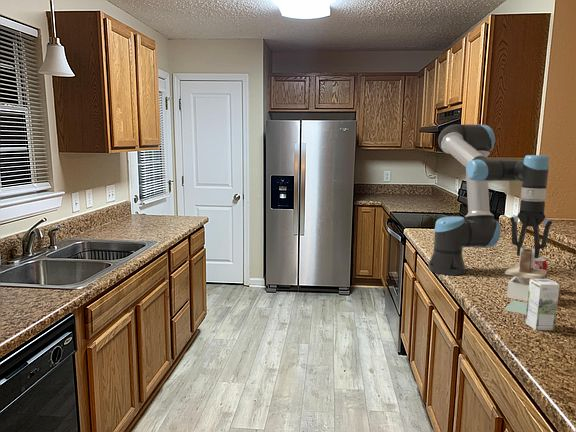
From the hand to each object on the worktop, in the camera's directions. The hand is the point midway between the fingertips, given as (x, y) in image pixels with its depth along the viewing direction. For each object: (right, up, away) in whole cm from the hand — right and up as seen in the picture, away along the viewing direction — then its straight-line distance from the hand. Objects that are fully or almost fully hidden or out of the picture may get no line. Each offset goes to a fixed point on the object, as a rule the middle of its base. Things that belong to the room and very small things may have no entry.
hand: (526, 265), depth 158 cm
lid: (0, -3, 0) cm, 3 cm away
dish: (0, -12, +2) cm, 12 cm away
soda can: (+9, -11, +11) cm, 18 cm away
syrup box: (-10, -16, -25) cm, 31 cm away
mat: (-5, -14, -11) cm, 18 cm away
